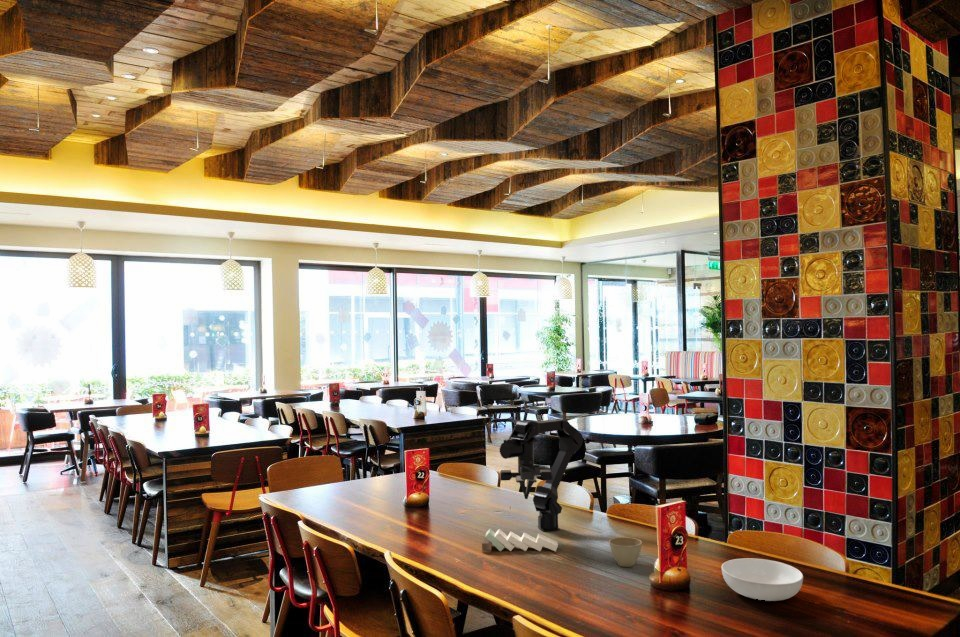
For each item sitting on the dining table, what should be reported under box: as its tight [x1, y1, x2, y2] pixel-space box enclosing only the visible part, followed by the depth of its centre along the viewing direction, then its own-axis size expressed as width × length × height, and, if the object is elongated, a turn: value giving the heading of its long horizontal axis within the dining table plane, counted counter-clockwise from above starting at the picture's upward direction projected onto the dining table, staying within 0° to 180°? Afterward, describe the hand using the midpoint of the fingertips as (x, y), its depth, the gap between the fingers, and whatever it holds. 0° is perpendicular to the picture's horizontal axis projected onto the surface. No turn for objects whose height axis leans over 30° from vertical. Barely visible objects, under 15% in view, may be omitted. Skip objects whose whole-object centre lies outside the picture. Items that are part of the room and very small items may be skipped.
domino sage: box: [484, 528, 506, 553], centre depth 239 cm, size 2×5×7 cm
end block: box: [481, 536, 493, 553], centre depth 239 cm, size 3×8×3 cm, turn 176°
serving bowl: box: [720, 557, 804, 602], centre depth 194 cm, size 21×21×7 cm
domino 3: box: [520, 532, 544, 552], centre depth 238 cm, size 2×5×7 cm
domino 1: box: [494, 528, 516, 552], centre depth 239 cm, size 2×5×7 cm
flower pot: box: [608, 536, 643, 568], centre depth 221 cm, size 10×10×7 cm
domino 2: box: [507, 531, 529, 552], centre depth 239 cm, size 2×5×7 cm
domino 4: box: [535, 532, 559, 552], centre depth 238 cm, size 2×5×7 cm
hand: (526, 498), depth 255 cm, fingers closed
